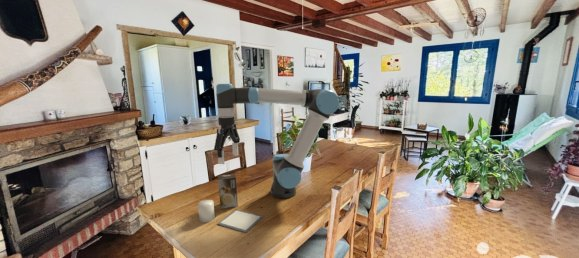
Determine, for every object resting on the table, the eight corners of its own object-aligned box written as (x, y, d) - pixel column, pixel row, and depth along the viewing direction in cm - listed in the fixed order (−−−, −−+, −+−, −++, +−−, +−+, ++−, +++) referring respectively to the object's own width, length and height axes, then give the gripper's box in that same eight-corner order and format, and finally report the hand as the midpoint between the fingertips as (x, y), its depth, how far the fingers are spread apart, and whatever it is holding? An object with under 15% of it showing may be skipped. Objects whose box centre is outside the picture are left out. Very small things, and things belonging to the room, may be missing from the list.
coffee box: (237, 200, 135) (235, 173, 132) (238, 206, 129) (236, 177, 126) (219, 203, 133) (218, 175, 130) (219, 209, 127) (217, 179, 124)
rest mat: (236, 210, 126) (236, 209, 125) (263, 217, 119) (263, 216, 119) (217, 224, 113) (217, 223, 113) (246, 233, 106) (246, 231, 106)
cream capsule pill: (206, 213, 123) (205, 198, 121) (217, 216, 120) (216, 201, 118) (196, 220, 117) (194, 204, 115) (207, 223, 114) (206, 208, 112)
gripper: (232, 113, 130) (234, 151, 134) (203, 120, 107) (207, 167, 111) (245, 113, 128) (247, 152, 132) (218, 120, 105) (222, 168, 109)
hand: (228, 159), depth 121 cm, fingers open, 13 cm apart
